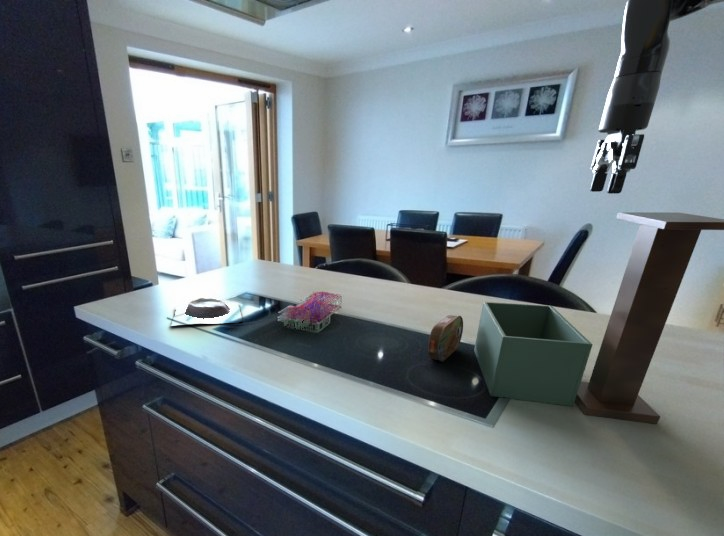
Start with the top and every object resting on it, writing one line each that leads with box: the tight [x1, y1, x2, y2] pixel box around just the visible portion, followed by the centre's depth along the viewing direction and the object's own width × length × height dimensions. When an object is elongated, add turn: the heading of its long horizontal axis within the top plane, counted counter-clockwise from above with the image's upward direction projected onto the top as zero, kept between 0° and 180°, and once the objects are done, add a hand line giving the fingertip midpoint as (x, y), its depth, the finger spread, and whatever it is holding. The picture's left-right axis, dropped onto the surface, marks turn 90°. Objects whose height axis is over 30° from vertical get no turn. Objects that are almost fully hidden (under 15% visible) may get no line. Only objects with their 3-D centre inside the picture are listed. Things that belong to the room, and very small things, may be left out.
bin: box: [473, 301, 594, 407], centre depth 78 cm, size 13×21×12 cm, turn 162°
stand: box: [574, 211, 724, 425], centre depth 63 cm, size 10×14×32 cm
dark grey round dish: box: [185, 297, 230, 319], centre depth 120 cm, size 21×20×4 cm
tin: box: [427, 314, 464, 362], centre depth 88 cm, size 15×3×8 cm, turn 137°
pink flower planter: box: [277, 291, 343, 334], centre depth 117 cm, size 30×15×5 cm, turn 150°
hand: (604, 192), depth 82 cm, fingers open, 8 cm apart
